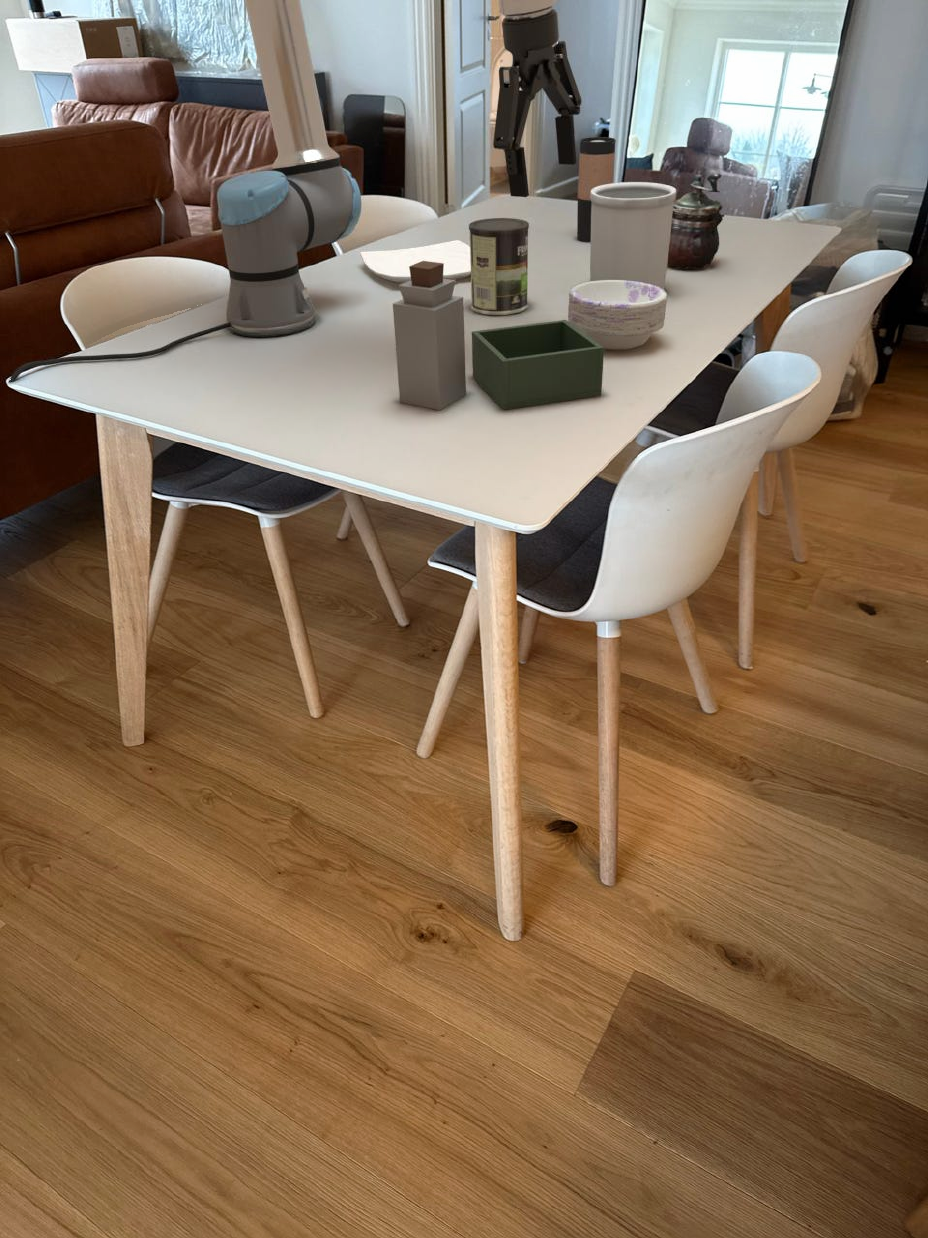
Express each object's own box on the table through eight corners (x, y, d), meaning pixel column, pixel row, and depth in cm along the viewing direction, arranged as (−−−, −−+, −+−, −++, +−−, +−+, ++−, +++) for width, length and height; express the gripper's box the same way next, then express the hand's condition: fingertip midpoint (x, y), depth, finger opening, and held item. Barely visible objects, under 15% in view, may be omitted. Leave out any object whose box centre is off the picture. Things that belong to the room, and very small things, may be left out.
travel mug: (570, 236, 206) (574, 138, 195) (601, 233, 208) (606, 135, 196) (584, 243, 200) (588, 142, 189) (615, 240, 202) (622, 140, 190)
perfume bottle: (466, 394, 128) (462, 261, 118) (439, 410, 124) (433, 273, 113) (426, 386, 131) (419, 256, 121) (399, 401, 127) (390, 267, 116)
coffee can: (531, 299, 166) (532, 217, 158) (523, 316, 157) (524, 230, 149) (476, 298, 168) (474, 216, 159) (465, 314, 159) (463, 229, 151)
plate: (507, 277, 179) (507, 263, 178) (389, 293, 172) (388, 278, 171) (461, 251, 198) (461, 238, 196) (354, 264, 191) (352, 251, 189)
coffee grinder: (681, 279, 174) (692, 176, 164) (647, 261, 186) (655, 164, 176) (740, 272, 177) (754, 171, 167) (703, 255, 189) (714, 159, 178)
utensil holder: (629, 308, 160) (637, 200, 150) (569, 291, 169) (573, 189, 159) (683, 291, 167) (694, 188, 157) (623, 276, 177) (629, 178, 167)
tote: (502, 410, 123) (502, 361, 119) (472, 377, 134) (471, 331, 130) (601, 395, 126) (604, 347, 122) (564, 364, 137) (565, 319, 133)
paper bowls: (676, 333, 147) (681, 283, 143) (641, 362, 137) (646, 309, 132) (590, 321, 154) (592, 273, 149) (551, 348, 143) (552, 296, 139)
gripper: (500, 36, 112) (520, 211, 127) (599, -12, 126) (607, 151, 140) (452, 38, 116) (477, 208, 130) (553, -9, 130) (565, 150, 144)
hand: (544, 179), depth 135 cm, fingers open, 13 cm apart
